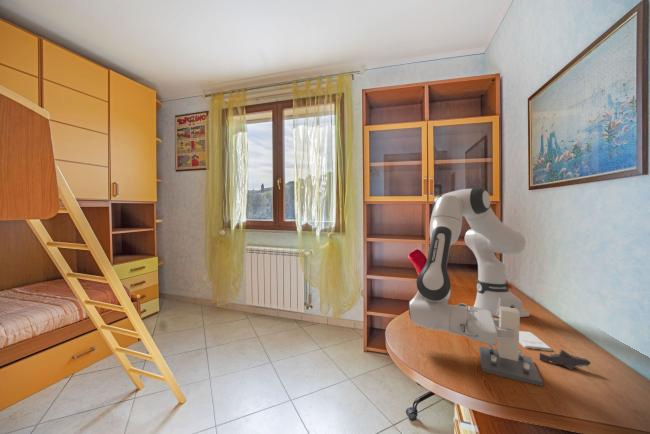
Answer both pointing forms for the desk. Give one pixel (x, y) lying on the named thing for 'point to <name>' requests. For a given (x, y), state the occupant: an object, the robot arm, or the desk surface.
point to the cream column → (511, 320)
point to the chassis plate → (509, 366)
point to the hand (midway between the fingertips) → (512, 329)
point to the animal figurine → (565, 360)
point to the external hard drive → (532, 341)
